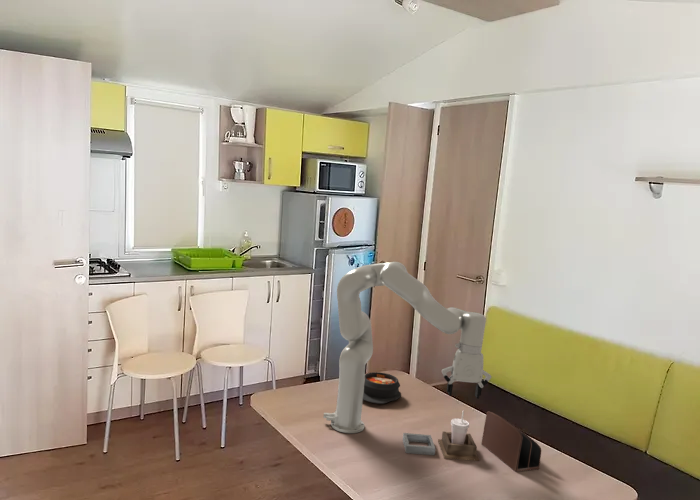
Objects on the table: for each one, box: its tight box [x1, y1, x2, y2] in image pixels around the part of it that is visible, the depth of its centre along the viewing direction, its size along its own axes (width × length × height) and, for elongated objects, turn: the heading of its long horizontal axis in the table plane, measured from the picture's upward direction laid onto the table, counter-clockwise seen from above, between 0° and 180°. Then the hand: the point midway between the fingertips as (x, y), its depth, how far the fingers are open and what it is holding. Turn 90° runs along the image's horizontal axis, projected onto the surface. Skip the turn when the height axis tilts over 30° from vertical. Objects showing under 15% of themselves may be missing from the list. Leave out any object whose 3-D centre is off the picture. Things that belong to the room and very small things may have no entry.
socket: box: [437, 431, 480, 462], centre depth 190 cm, size 12×12×4 cm
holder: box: [402, 432, 436, 456], centre depth 190 cm, size 10×10×2 cm
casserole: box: [363, 371, 402, 405], centre depth 233 cm, size 25×19×8 cm
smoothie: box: [450, 409, 470, 444], centre depth 189 cm, size 6×6×14 cm
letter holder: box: [481, 410, 542, 473], centre depth 189 cm, size 10×20×14 cm, turn 21°
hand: (463, 395), depth 188 cm, fingers open, 9 cm apart
